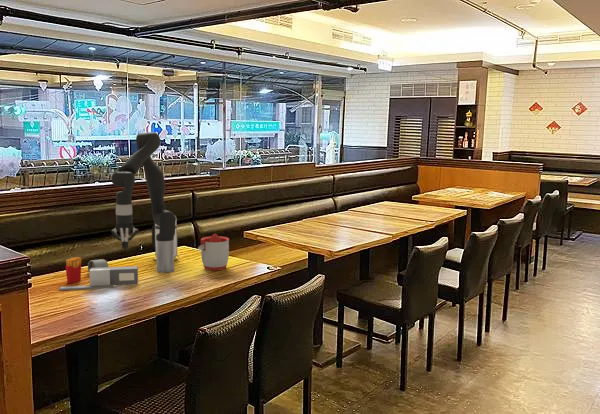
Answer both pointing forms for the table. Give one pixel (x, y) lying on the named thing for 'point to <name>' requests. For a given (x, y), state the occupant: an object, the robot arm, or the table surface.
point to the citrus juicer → (214, 252)
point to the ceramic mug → (97, 264)
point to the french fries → (73, 269)
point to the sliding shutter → (100, 277)
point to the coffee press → (156, 231)
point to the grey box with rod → (113, 278)
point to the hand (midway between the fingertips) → (125, 248)
